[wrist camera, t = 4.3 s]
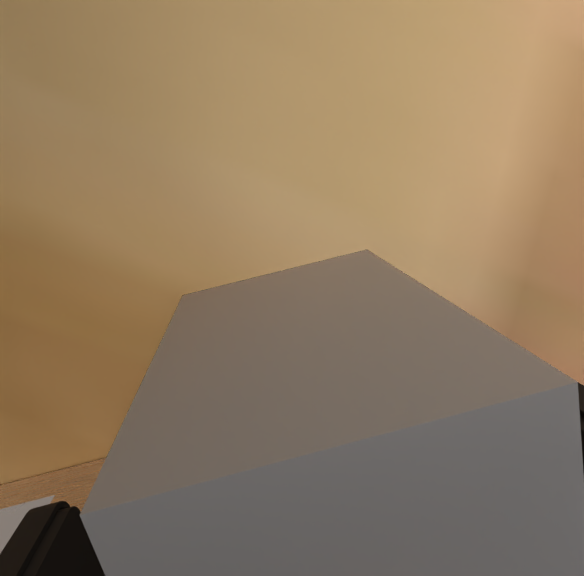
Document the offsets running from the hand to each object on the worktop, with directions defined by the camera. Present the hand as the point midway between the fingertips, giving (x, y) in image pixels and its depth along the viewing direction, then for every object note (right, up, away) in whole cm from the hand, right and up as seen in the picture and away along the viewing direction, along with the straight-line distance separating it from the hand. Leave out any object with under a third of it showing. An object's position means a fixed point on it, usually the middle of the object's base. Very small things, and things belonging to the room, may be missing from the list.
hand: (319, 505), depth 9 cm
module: (0, +1, +3) cm, 3 cm away
